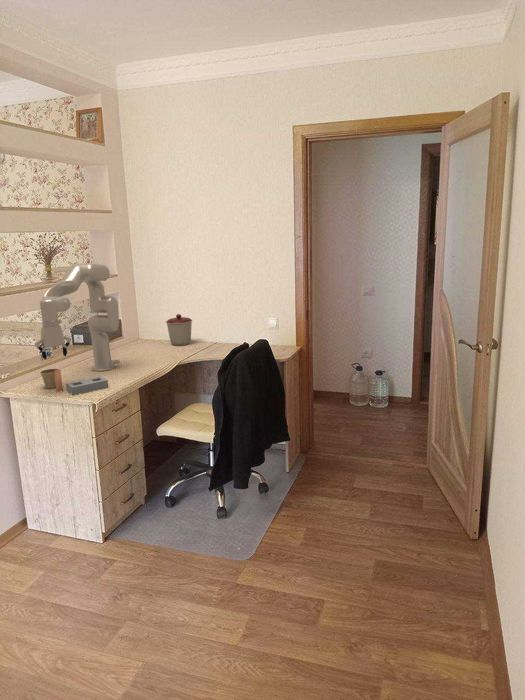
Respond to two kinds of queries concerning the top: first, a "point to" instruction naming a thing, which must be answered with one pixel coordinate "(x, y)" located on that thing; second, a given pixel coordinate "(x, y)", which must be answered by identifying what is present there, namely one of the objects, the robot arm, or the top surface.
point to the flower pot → (49, 378)
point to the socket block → (87, 385)
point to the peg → (58, 380)
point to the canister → (179, 330)
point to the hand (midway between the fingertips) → (55, 357)
